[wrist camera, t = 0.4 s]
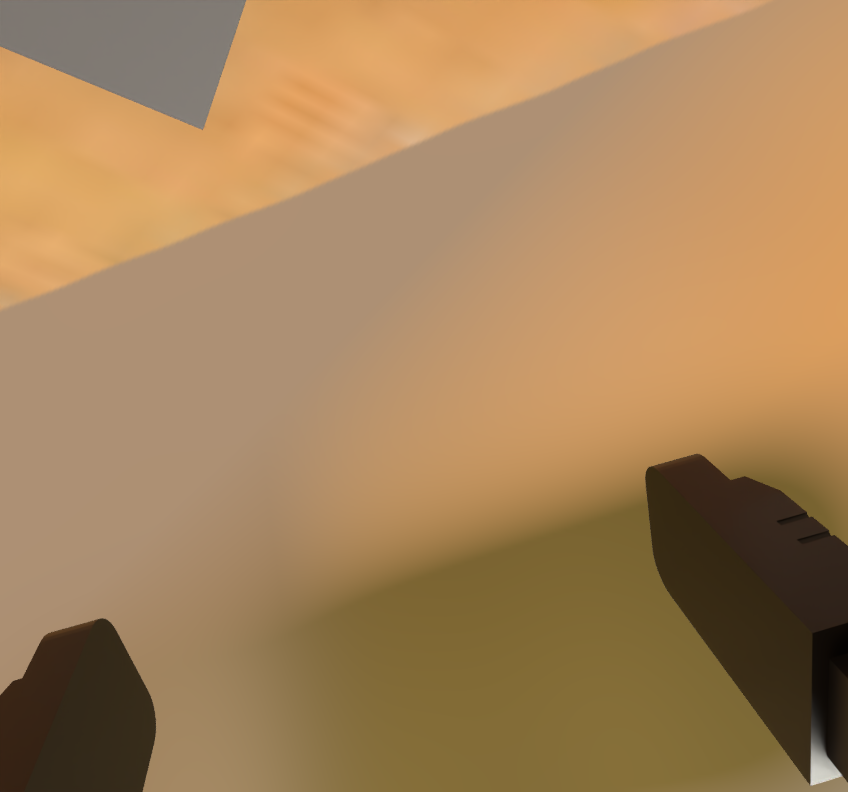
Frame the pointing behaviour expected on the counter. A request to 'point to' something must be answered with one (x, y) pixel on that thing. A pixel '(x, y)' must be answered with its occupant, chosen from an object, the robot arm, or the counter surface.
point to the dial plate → (131, 46)
